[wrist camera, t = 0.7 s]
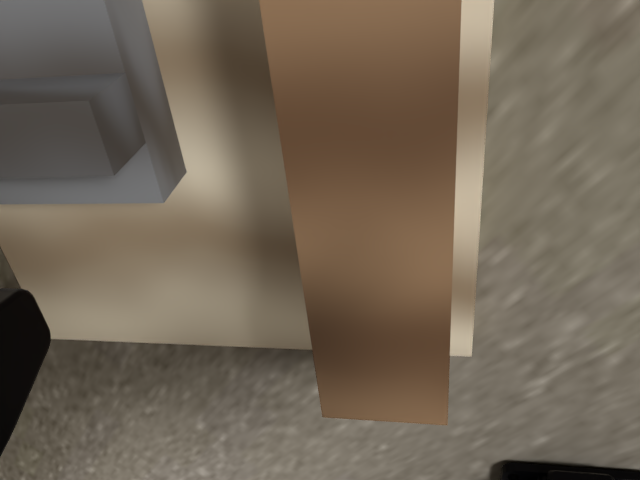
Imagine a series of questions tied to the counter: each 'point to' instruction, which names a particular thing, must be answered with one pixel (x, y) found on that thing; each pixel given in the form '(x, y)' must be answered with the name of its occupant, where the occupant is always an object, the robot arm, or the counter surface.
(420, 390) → the walnut bar
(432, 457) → the counter surface
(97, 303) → the flat beige square board
